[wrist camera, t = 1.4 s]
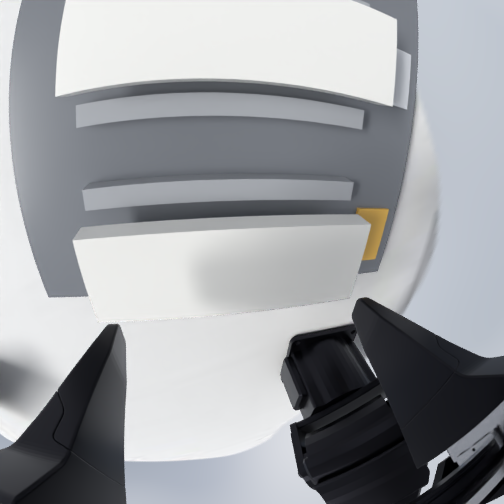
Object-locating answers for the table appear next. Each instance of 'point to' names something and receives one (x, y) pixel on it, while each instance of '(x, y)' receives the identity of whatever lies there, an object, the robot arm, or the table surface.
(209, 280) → the key
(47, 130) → the switch panel
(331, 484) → the robot arm
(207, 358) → the table surface
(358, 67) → the key middle
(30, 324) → the table surface
